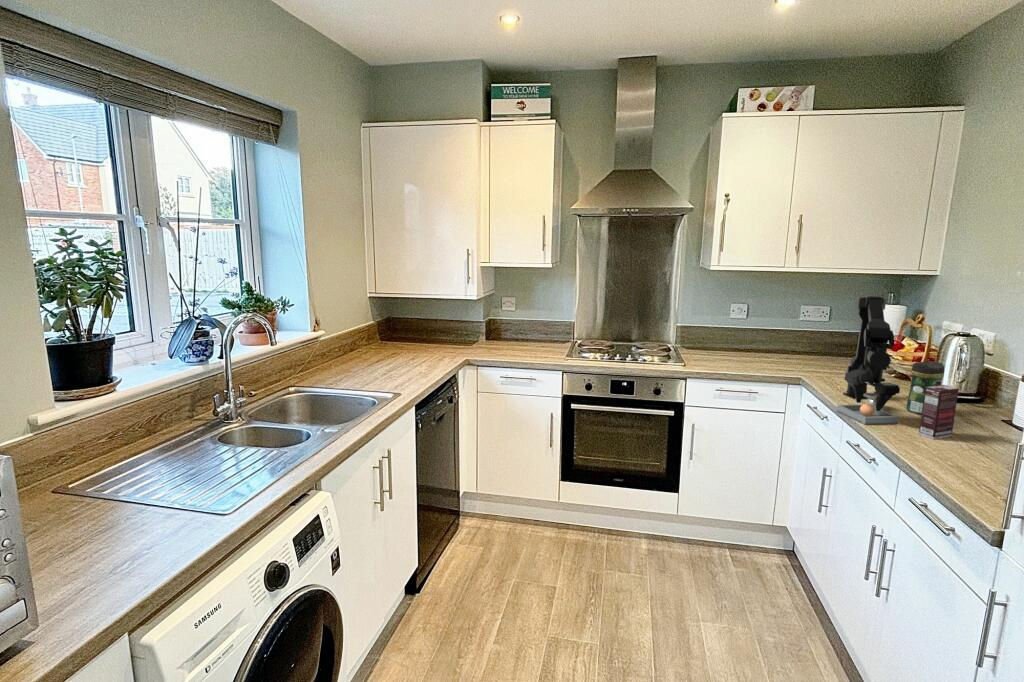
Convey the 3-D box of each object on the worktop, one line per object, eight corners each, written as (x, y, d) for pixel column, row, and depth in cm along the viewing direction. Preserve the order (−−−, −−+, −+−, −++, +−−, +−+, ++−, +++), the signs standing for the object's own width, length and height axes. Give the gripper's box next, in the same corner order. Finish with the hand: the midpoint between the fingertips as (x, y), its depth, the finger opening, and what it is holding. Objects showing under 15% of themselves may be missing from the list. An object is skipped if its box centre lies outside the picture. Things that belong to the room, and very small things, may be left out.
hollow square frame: (861, 405, 202) (863, 393, 201) (876, 405, 202) (877, 392, 201) (873, 410, 196) (874, 397, 195) (888, 410, 196) (890, 397, 196)
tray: (836, 411, 195) (837, 405, 194) (867, 411, 196) (868, 404, 195) (864, 424, 181) (865, 417, 180) (898, 424, 182) (899, 417, 182)
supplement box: (935, 431, 175) (943, 384, 172) (952, 437, 171) (960, 388, 168) (917, 434, 172) (924, 386, 169) (933, 440, 168) (941, 390, 165)
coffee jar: (919, 407, 201) (927, 358, 197) (942, 414, 193) (950, 363, 190) (900, 409, 198) (908, 360, 194) (923, 416, 190) (931, 365, 187)
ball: (856, 414, 190) (857, 402, 189) (868, 414, 191) (869, 401, 190) (865, 418, 186) (866, 405, 185) (877, 417, 186) (879, 405, 186)
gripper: (833, 356, 193) (828, 399, 196) (872, 369, 175) (865, 415, 178) (862, 356, 194) (857, 398, 197) (904, 369, 176) (897, 415, 179)
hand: (867, 406), depth 188 cm, fingers open, 9 cm apart
